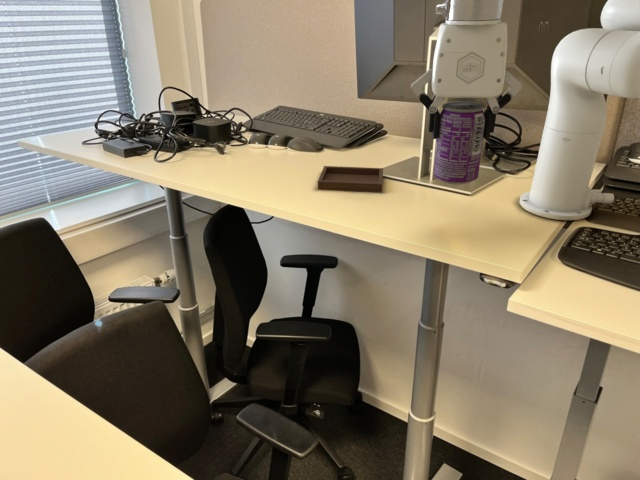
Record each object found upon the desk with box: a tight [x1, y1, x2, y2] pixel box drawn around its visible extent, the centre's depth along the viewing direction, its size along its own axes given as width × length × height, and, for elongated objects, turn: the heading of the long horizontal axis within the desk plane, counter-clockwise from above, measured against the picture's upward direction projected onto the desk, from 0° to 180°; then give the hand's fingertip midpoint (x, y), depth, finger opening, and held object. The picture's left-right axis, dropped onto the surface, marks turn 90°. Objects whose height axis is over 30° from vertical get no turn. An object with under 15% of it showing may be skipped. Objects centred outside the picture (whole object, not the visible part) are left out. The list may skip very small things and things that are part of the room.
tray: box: [317, 165, 384, 193], centre depth 103 cm, size 14×10×2 cm
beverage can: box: [433, 100, 486, 186], centre depth 74 cm, size 7×7×12 cm
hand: (459, 136), depth 74 cm, fingers closed on beverage can, 7 cm apart
